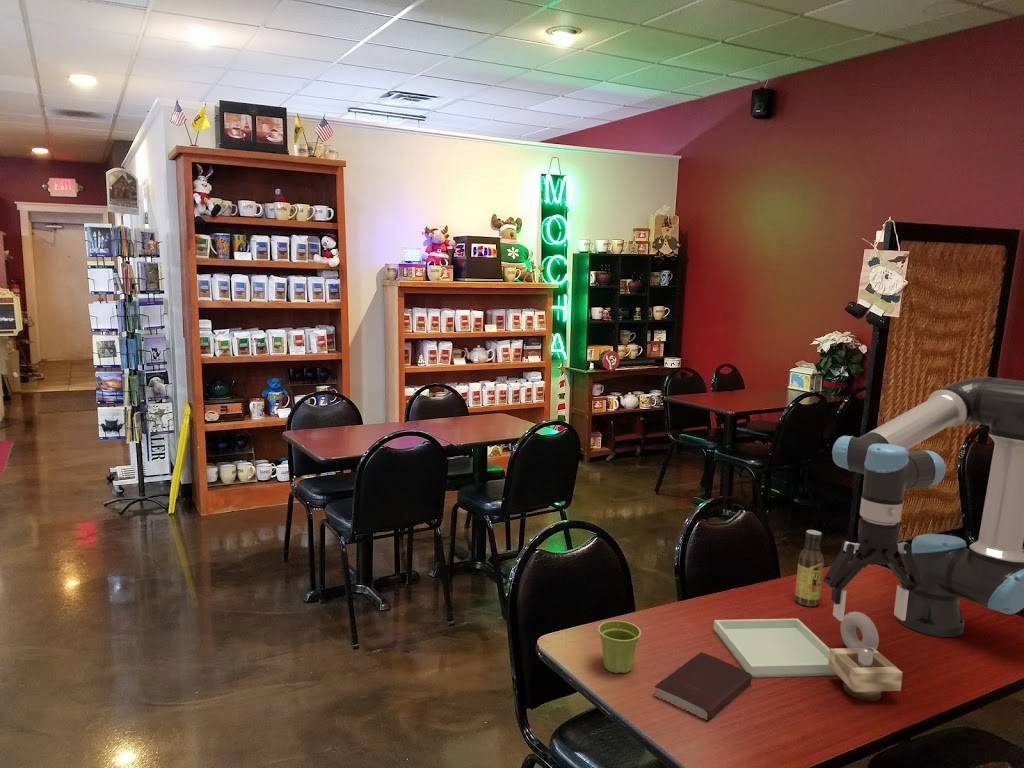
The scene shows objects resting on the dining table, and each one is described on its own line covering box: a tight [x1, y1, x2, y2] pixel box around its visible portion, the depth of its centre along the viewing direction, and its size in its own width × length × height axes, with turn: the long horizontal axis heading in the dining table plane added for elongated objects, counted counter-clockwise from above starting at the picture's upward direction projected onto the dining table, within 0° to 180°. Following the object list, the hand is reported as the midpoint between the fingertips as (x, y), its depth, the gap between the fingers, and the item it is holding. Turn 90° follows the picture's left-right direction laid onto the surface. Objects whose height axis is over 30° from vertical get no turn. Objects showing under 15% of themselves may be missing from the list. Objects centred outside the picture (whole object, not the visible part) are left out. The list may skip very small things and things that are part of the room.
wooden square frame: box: [828, 647, 904, 692], centre depth 150 cm, size 10×10×4 cm
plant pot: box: [597, 619, 642, 674], centre depth 157 cm, size 9×9×9 cm
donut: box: [840, 611, 880, 650], centre depth 166 cm, size 10×4×10 cm, turn 19°
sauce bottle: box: [794, 529, 825, 607], centre depth 192 cm, size 6×6×20 cm
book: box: [654, 652, 752, 721], centre depth 149 cm, size 12×19×3 cm, turn 136°
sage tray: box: [713, 618, 838, 678], centre depth 166 cm, size 22×22×3 cm
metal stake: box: [842, 646, 883, 702], centre depth 150 cm, size 7×7×10 cm
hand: (868, 618), depth 149 cm, fingers open, 13 cm apart
